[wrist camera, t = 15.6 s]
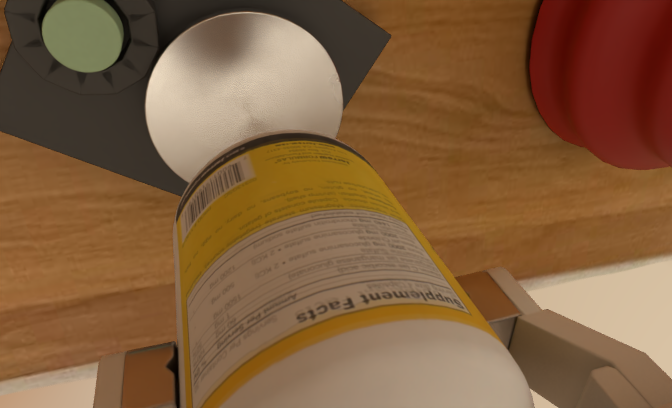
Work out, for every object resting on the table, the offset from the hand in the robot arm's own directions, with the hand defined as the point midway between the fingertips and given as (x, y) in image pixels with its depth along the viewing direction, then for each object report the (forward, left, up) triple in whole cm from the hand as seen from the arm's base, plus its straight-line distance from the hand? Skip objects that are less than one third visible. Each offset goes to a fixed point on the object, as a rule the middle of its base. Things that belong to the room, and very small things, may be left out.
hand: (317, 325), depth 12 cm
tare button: (-6, +3, -17) cm, 18 cm away
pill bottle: (0, 0, -5) cm, 5 cm away
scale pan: (+1, -1, -16) cm, 16 cm away
